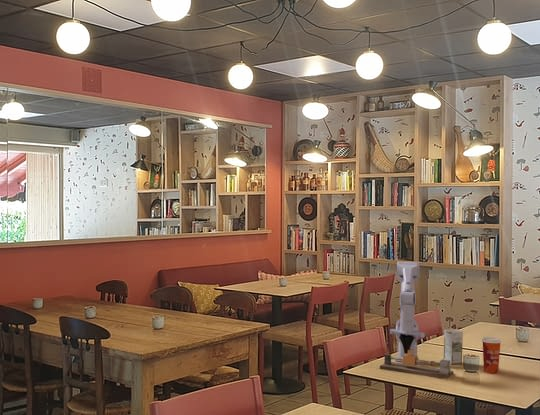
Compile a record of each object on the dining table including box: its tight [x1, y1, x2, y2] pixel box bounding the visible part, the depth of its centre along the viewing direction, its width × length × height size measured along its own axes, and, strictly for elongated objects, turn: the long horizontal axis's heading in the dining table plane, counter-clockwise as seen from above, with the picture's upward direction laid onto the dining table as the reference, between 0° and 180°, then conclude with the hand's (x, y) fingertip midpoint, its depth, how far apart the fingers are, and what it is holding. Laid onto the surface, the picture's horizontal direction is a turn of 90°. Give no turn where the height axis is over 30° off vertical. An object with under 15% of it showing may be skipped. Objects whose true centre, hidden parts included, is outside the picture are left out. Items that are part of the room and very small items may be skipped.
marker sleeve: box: [402, 349, 419, 366], centre depth 270 cm, size 4×5×6 cm
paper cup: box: [481, 336, 502, 374], centre depth 270 cm, size 8×8×14 cm
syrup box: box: [443, 328, 464, 365], centre depth 286 cm, size 6×6×14 cm
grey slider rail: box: [379, 353, 454, 380], centre depth 269 cm, size 10×28×6 cm, turn 58°
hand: (406, 353), depth 271 cm, fingers closed
